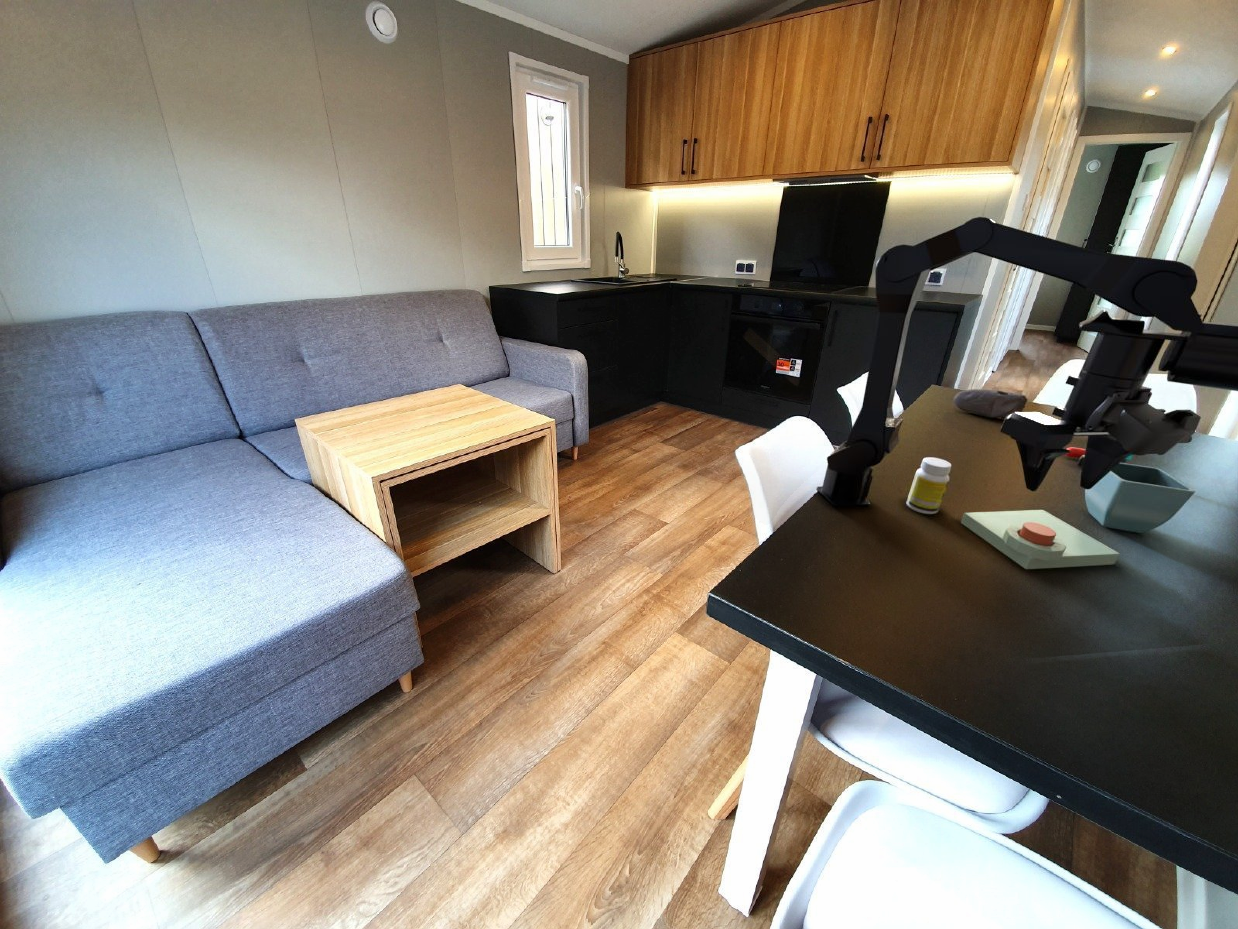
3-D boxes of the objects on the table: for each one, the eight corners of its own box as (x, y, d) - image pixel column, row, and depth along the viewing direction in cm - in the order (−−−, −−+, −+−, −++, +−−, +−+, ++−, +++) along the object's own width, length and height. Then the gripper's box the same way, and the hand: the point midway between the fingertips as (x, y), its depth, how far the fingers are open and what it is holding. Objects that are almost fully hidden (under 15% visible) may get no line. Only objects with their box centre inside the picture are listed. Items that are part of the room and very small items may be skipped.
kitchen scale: (1025, 573, 66) (1035, 552, 65) (955, 523, 78) (963, 503, 76) (1119, 568, 68) (1131, 547, 66) (1038, 519, 79) (1046, 500, 78)
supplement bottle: (942, 516, 79) (959, 470, 76) (911, 512, 80) (926, 466, 76) (931, 502, 83) (947, 457, 80) (901, 498, 84) (916, 454, 81)
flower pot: (1132, 515, 82) (1159, 467, 78) (1166, 543, 74) (1198, 491, 70) (1069, 505, 84) (1092, 458, 80) (1095, 531, 76) (1122, 480, 73)
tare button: (1034, 547, 66) (1039, 536, 65) (1012, 532, 69) (1017, 522, 69) (1058, 546, 67) (1063, 535, 66) (1034, 531, 70) (1039, 521, 69)
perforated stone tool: (947, 410, 130) (956, 385, 127) (952, 406, 134) (961, 381, 131) (1016, 425, 121) (1027, 398, 118) (1019, 420, 124) (1030, 394, 121)
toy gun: (1129, 463, 102) (1140, 442, 99) (1119, 479, 94) (1131, 456, 92) (1069, 448, 108) (1079, 428, 106) (1057, 462, 101) (1066, 440, 99)
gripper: (1115, 394, 50) (1052, 524, 56) (1265, 393, 52) (1188, 518, 59) (1020, 367, 60) (976, 480, 66) (1150, 367, 62) (1095, 476, 69)
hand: (1057, 489), depth 65 cm, fingers open, 8 cm apart
